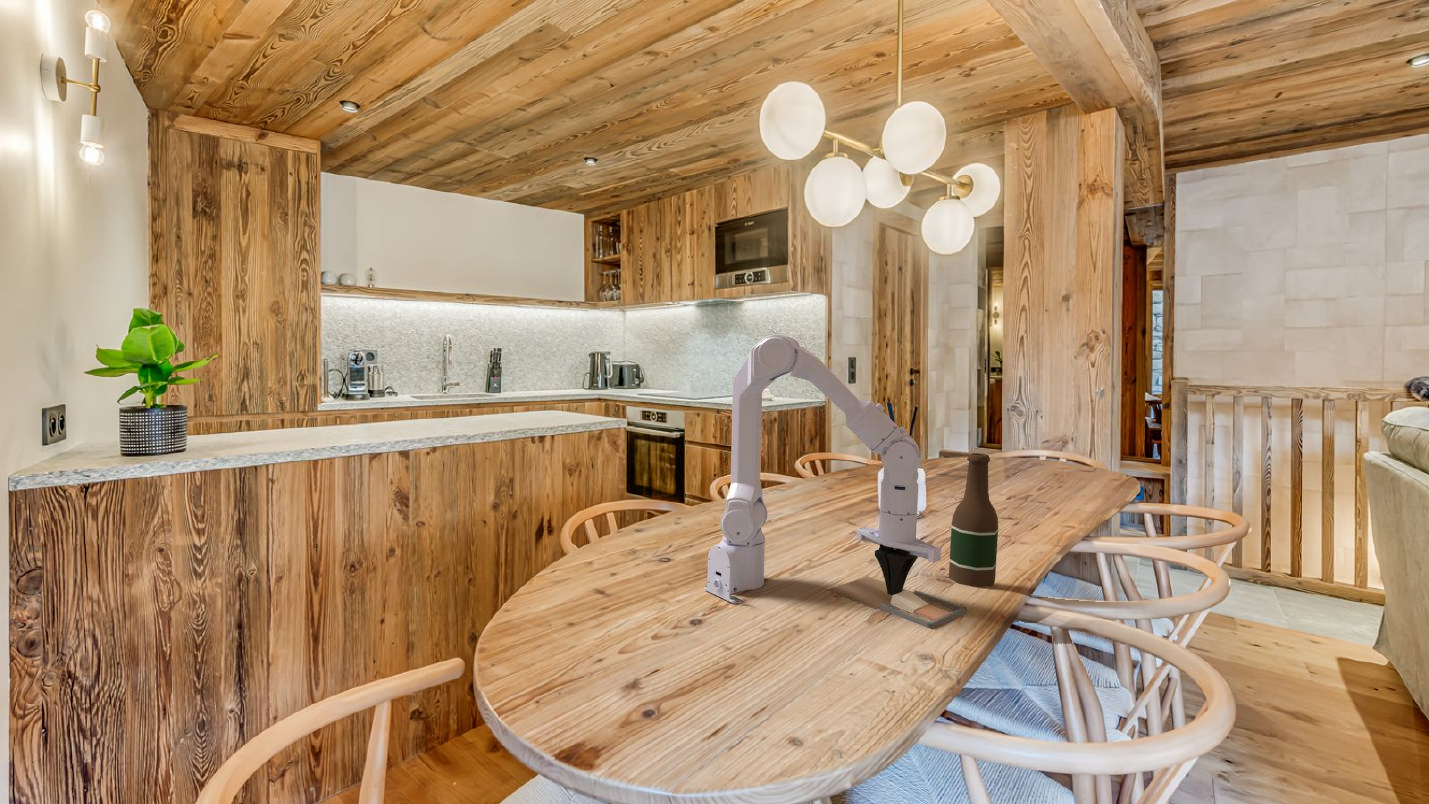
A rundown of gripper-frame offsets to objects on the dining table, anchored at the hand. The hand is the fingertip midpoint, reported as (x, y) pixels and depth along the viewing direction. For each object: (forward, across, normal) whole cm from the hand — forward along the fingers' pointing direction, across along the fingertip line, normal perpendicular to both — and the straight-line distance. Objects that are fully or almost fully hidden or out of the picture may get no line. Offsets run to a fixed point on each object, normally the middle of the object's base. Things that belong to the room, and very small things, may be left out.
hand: (894, 593), depth 104 cm
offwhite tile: (+1, -3, 0) cm, 3 cm away
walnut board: (+2, +4, 0) cm, 5 cm away
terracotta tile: (+2, -7, 0) cm, 7 cm away
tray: (+2, -5, 0) cm, 6 cm away
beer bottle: (+3, -2, -20) cm, 20 cm away
